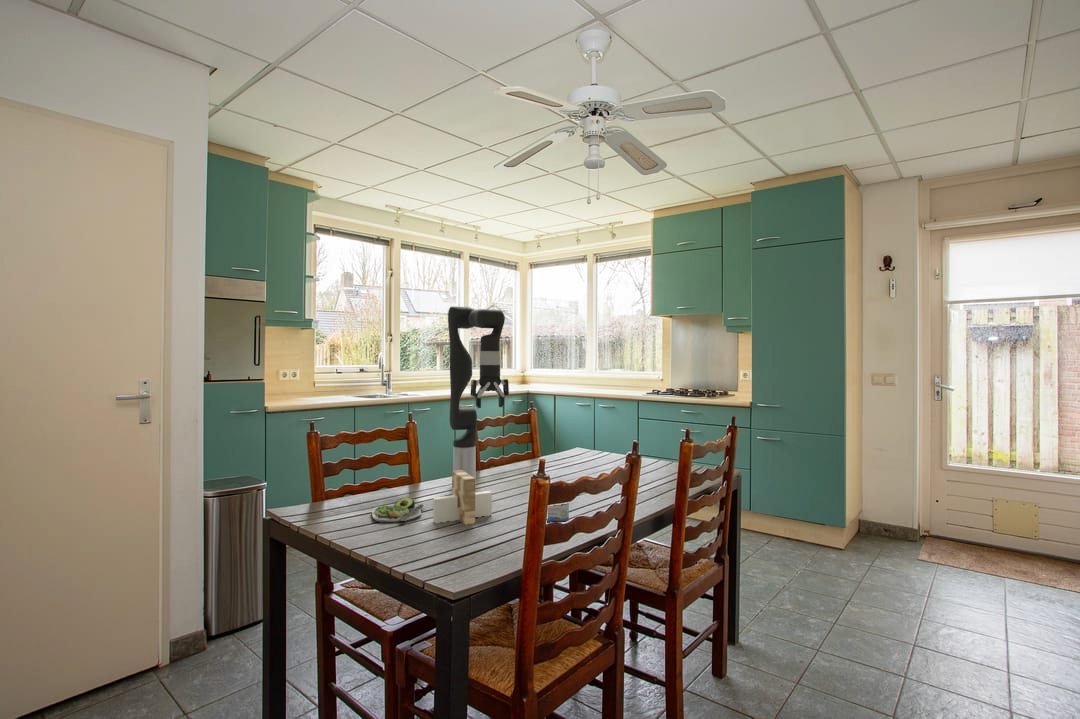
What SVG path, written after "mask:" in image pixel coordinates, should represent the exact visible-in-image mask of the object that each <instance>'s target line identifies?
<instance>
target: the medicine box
mask: <svg viewBox="0 0 1080 719" xmlns="http://www.w3.org/2000/svg"><path fill="white" fill-rule="evenodd" d="M569 509H570V502H569V503H567V504H561V505H553V506H549V507H548V520H547V522H546V523H553V522H552V521H559V523H560V522H568V521H567V520H570V519H569V518H570V515H569V513H570V510H569Z"/></svg>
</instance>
